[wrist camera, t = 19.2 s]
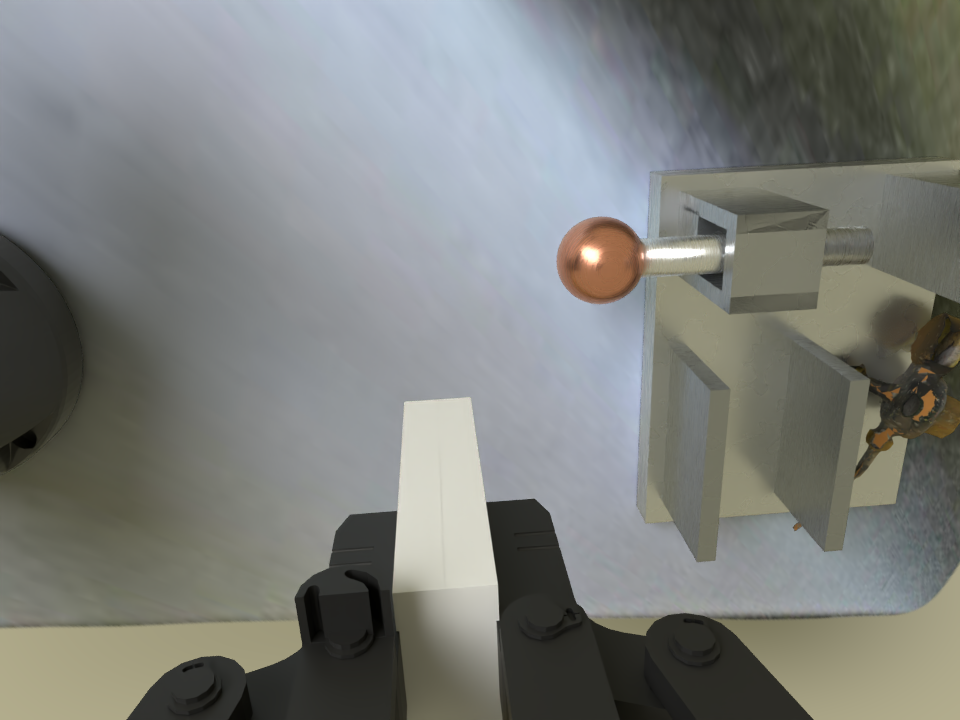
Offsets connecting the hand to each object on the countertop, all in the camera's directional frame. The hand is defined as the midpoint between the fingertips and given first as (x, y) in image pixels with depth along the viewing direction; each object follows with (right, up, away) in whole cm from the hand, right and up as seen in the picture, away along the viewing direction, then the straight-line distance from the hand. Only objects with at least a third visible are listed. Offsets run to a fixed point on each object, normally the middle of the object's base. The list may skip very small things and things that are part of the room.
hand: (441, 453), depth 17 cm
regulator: (+19, -8, +26) cm, 33 cm away
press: (+19, +3, +27) cm, 33 cm away
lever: (+12, +8, +19) cm, 23 cm away
